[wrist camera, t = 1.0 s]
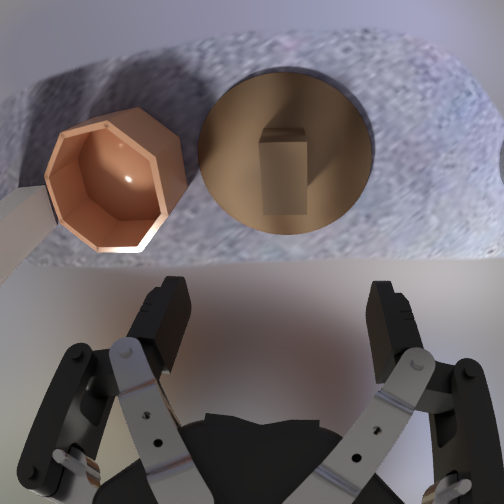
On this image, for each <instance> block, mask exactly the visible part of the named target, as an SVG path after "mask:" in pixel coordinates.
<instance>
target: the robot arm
mask: <svg viewBox="0 0 504 504" xmlns="http://www.w3.org/2000/svg"><path fill="white" fill-rule="evenodd" d="M500 174H501V179H502V181H503V184H504V143H503V146H502V150H501V154H500ZM190 315H191V300H190V296H189V293H188V289H187V285H186V281H185V278H184V277H179V276H177V277H176V276H167V277H166V278H165V279H164V281H163V283H162V285H161V287H155V288H154V289H153V290H152V291H151V292H150V293H149V294H148V295H147V296H146V298H145V300H144V302H143V305H142V306H141V308H140V312H138V314H137V316H136V318H135V320H134V322H133V324H132V326H131V328H130V330H129V332H128V334H127V336H126V337H124V338H121V339H119V340H117V341H116V342H114V343H113V345H112V346H111V347H110V349H103V350H96V351H92V349H91V348H90V346H89V345H88V344H86V343H77V344H74V345H72V346H71V347H69V348H68V349H67V351H66V352H65V354H64V356H63V358H62V360H61V362H60V364H59V366H58V369H57V370H56V373H55V375H54V377H53V379H52V381H51V383H50V385H49V388H48V390H47V392H46V394H45V396H44V399H43V401H42V404H41V406H40V408H39V410H38V413H37V415H36V418H35V420H34V423H33V425H32V428H31V430H30V433H29V435H28V438H27V440H26V443H25V446H24V449H23V452H22V454H21V457H20V460H19V463H18V466H17V477H18V480H19V482H20V483H21V485H22V486H23V487H25V488H27V489H28V490H31V491H33V492H35V493H36V494H38V495H39V496H41V497H43V498H45V499H48V500H50V501H52V502H55V503H57V504H404V503H403V501H402V500H401V499H400V498H399V497H398V496H397V495H396V494H395V493H394V492H393V491H392V490H391V489H390V488H389V487H388V486H387V485H386V484H385V482H384V481H383V480H382V479H381V478H380V477H379V476H378V475H377V474H376V473H375V472H376V470H377V469H378V467H379V466H380V465H381V463H382V462H383V460H384V459H385V457H386V456H387V455H388V453H389V452H390V450H391V449H392V447H393V445H394V444H395V442H396V441H397V439H398V438H399V436H400V434H401V433H402V431H403V430H404V428H405V426H406V424H407V423H408V421H409V420H410V418H411V416H412V414H413V412H414V410H417V411H422V412H427V413H429V421H430V431H431V441H432V453H433V468H434V484H433V485H431V486H430V487H429V488H428V489H427V490H426V491H425V493H424V495H423V498H422V504H504V467H503V460H502V452H501V446H500V440H499V434H498V429H497V424H496V419H495V414H494V410H493V406H492V401H491V397H490V393H489V389H488V385H487V382H486V378H485V375H484V371H483V369H482V367H481V365H480V364H479V363H478V362H476V361H475V360H473V359H470V358H464V359H461V360H459V361H458V362H457V363H456V365H450V364H445V363H441V362H437V361H435V360H434V357H433V356H432V355H431V354H430V353H429V352H428V351H427V350H425V349H424V348H423V344H422V341H421V338H420V334H419V332H418V328H417V325H416V322H415V320H414V316H413V313H412V309H411V306H410V304H409V301H408V300H407V299H406V298H405V297H404V295H403V294H402V293H395V292H394V290H393V286H392V283H391V281H373V282H372V285H371V290H370V294H369V298H368V302H367V306H366V323H367V329H368V335H369V340H370V346H371V352H372V358H373V365H374V372H375V379H376V383H377V384H380V383H384V385H383V387H382V388H381V390H380V391H378V392H377V393H376V395H375V396H374V397H373V399H372V400H371V402H370V403H369V405H368V406H367V407H366V409H365V410H364V411H363V413H362V414H361V415H360V417H359V418H358V419H357V421H356V422H355V423H354V425H353V426H352V427H351V429H350V430H349V431H348V432H347V434H346V435H345V436H344V437H342V436H340V435H339V434H337V433H335V432H333V431H331V430H328V429H326V428H322V427H319V420H288V421H282V422H277V423H272V424H265V425H259V424H256V423H253V422H249V421H246V420H243V419H240V418H237V417H234V416H227V415H218V414H210V413H206V415H205V419H204V420H200V421H196V422H192V423H189V424H187V425H185V426H182V425H181V423H180V421H179V420H178V418H177V416H176V414H175V412H174V410H173V408H172V406H171V404H170V402H169V400H168V398H167V396H166V394H165V391H164V389H163V387H162V385H161V383H160V380H159V379H160V376H161V373H166V374H170V373H171V370H172V367H173V364H174V361H175V359H176V356H177V353H178V350H179V347H180V344H181V341H182V338H183V335H184V332H185V329H186V327H187V324H188V321H189V318H190ZM115 396H118V399H119V402H120V405H121V408H122V411H123V414H124V417H125V420H126V422H127V425H128V428H129V431H130V434H131V436H132V439H133V442H134V444H135V447H136V449H137V452H138V454H139V456H140V458H139V459H138V460H136V461H135V462H134V463H132V464H131V465H130V466H128V467H126V468H125V469H124V470H122V471H121V472H120V473H118V474H116V475H115V476H113V477H112V478H111V479H109V480H108V481H106V482H105V483H103V484H102V485H100V480H101V477H100V469H99V466H98V464H97V463H96V462H95V459H96V456H97V452H98V449H99V445H100V442H101V439H102V436H103V432H104V429H105V426H106V423H107V420H108V417H109V414H110V411H111V408H112V405H113V402H114V399H115Z"/></svg>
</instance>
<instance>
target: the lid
mask: <svg viewBox="0 0 504 504" xmlns="http://www.w3.org/2000/svg"><path fill="white" fill-rule="evenodd" d="M198 159H199V166H200V171H201V175H202V178H203V180H204V183H205V185H206V187H207V189H208V191H209V193H210V194H211V196H212V197H213V198H214V200H215V201H216V202H217V203H218V205H219V206H220V207H221V208H222V209H223V210H224V211H225V212H227V213H228V214H229V215H230V216H231V217H233V218H234V219H236V220H237V221H239V222H241V223H242V224H244V225H246V226H248V227H251V228H253V229H256V230H259V231H262V232H266V233H272V234H280V235H294V234H302V233H308V232H311V231H315V230H318V229H320V228H323V227H325V226H327V225H329V224H331V223H333V222H334V221H336V220H337V219H339V218H340V217H341V216H343V215H344V214H345V213H346V212H347V211H348V210H349V209H350V208H351V207H352V206H353V205H354V204H355V202H356V201H357V200H358V198H359V197H360V195H361V194H362V192H363V190H364V188H365V186H366V183H367V181H368V177H369V174H370V169H371V162H372V149H371V142H370V137H369V134H368V130H367V127H366V125H365V123H364V121H363V119H362V117H361V115H360V114H359V112H358V111H357V109H356V108H355V107H354V105H353V104H352V103H351V102H350V101H349V100H348V99H347V98H346V97H345V96H344V95H343V94H342V93H341V92H339V91H338V90H337V89H335V88H334V87H332V86H331V85H329V84H327V83H325V82H323V81H321V80H319V79H317V78H314V77H311V76H307V75H304V74H298V73H290V72H277V73H268V74H264V75H259V76H256V77H253V78H251V79H248V80H246V81H244V82H242V83H240V84H238V85H237V86H235V87H233V88H232V89H231V90H229V91H228V92H227V93H225V94H224V95H223V96H222V97H221V98H220V99H219V100H218V101H217V102H216V104H215V105H214V106H213V108H212V109H211V111H210V112H209V114H208V116H207V118H206V120H205V121H204V124H203V127H202V130H201V133H200V138H199V145H198Z"/></svg>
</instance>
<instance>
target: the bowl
mask: <svg viewBox="0 0 504 504" xmlns="http://www.w3.org/2000/svg"><path fill="white" fill-rule="evenodd" d="M44 178H45V181H46V184H47V187H48V190H49V193H50V196H51V199H52V202H53V205H54V208H55V211H56V214H57V216H58V219H59V222H60V223H61V224H62V225H63V226H65V227H66V228H67V229H68V230H70V231H71V232H72V233H73V234H75V235H76V236H77V237H78V238H80V239H81V240H82V241H83V242H85V243H86V244H87V245H89V246H90V247H91V248H93V249H94V250H95V251H97V252H142V251H143V249H144V248H145V246H146V245H147V243H148V242H149V241H150V239H151V238H152V237H153V235H154V234H155V233H156V231H157V230H158V229H159V227H160V226H161V225H162V223H163V222H164V221H165V219H166V218H167V217H168V216H169V215H170V213H171V212H172V210H173V209H174V207H175V206H176V204H177V203H178V201H179V200H180V198H181V197H182V196H183V194H184V193H185V191H186V190H187V188H188V185H187V179H186V173H185V167H184V161H183V155H182V149H181V143H180V137H178V136H177V135H176V134H174V133H173V132H172V131H170V130H169V129H168V128H166V127H165V126H164V125H162V124H161V123H160V122H158V121H157V120H156V119H154V118H153V117H152V116H150V115H149V114H148V113H146V112H145V111H144V110H142V109H141V108H140V107H135V108H131V109H126V110H121V111H117V112H113V113H109V114H104V115H100V116H95V117H93V118H91V119H89V120H86V121H84V122H82V123H80V124H77V125H75V126H73V127H71V128H69V129H67V130H65V131H63V132H61V133H60V135H59V138H58V140H57V143H56V145H55V148H54V150H53V153H52V155H51V158H50V161H49V163H48V166H47V169H46V172H45V175H44Z"/></svg>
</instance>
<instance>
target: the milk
mask: <svg viewBox="0 0 504 504" xmlns="http://www.w3.org/2000/svg"><path fill="white" fill-rule="evenodd" d="M56 226H57V223H56V220H55V217H54V214H53V211H52V207H51V204H50V201H49V197H48V193H47V190H46V186H45V185H41V186H30V187H20V188H17V189H15V190H14V191H13V192H11V193H10V194H9V195H7V196H6V197H5V198H3V199H2V200H1V201H0V287H1V285H2V284H3V283H4V282H5V281H6V279H7V278H8V277H9V276H10V275H11V274H12V272H13V271H14V270H15V269H16V268H17V267H18V266H19V265H20V264H21V262H22V261H23V260H24V259H25V258H26V257H27V256H28V255H29V254H30V253H31V252H32V251H33V250H34V248H35V247H36V246H37V245H38V244H39V243H40V242H41V241H42V240H43V239H44V238H45V237H46V236H47V235H48V234H49V233H50V232H51V231H52V230H53V229H54V228H55V227H56Z"/></svg>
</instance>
